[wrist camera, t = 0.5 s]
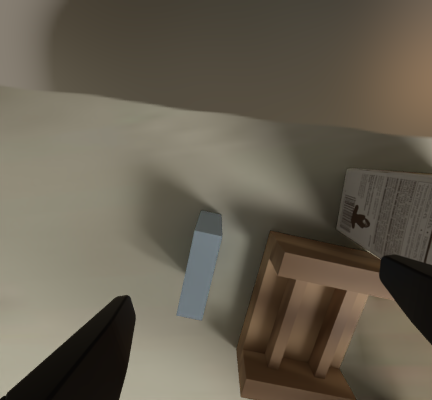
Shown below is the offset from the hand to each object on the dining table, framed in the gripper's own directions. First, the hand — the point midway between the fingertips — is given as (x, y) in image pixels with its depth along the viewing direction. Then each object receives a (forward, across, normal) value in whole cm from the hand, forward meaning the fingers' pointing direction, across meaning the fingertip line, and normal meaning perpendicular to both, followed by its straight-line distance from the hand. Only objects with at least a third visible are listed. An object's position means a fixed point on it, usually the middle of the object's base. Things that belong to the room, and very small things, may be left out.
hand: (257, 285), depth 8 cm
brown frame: (+12, -6, +13) cm, 19 cm away
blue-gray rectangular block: (+14, +2, +6) cm, 15 cm away
